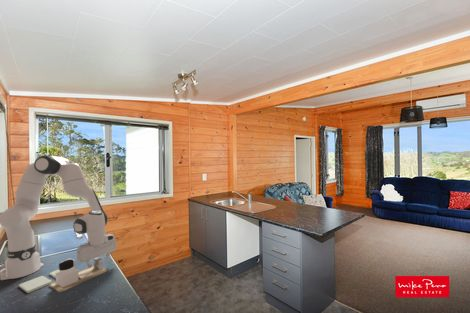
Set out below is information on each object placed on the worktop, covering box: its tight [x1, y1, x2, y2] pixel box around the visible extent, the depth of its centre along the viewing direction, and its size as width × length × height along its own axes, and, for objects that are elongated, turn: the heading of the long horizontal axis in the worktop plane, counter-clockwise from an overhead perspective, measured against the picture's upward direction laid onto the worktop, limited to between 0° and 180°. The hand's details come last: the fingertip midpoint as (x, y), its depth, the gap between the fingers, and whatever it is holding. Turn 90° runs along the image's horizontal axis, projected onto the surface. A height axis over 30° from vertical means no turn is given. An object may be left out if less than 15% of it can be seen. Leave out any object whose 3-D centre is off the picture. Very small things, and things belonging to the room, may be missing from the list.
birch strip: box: [48, 257, 108, 293], centre depth 123 cm, size 12×22×6 cm, turn 148°
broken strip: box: [18, 257, 80, 294], centre depth 124 cm, size 12×22×6 cm, turn 148°
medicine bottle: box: [55, 258, 79, 288], centre depth 118 cm, size 7×7×12 cm
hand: (98, 263), depth 132 cm, fingers open, 8 cm apart
